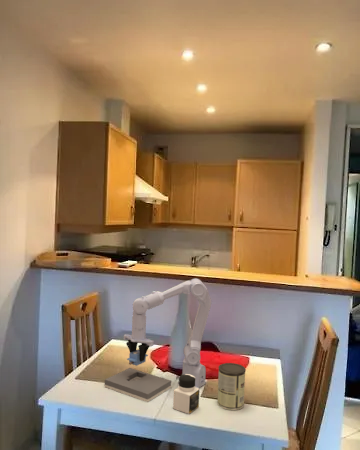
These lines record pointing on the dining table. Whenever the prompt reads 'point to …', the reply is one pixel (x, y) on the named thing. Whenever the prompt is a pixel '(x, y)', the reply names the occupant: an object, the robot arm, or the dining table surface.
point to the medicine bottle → (186, 394)
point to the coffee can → (231, 386)
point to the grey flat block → (138, 384)
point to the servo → (135, 358)
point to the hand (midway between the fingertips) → (137, 359)
